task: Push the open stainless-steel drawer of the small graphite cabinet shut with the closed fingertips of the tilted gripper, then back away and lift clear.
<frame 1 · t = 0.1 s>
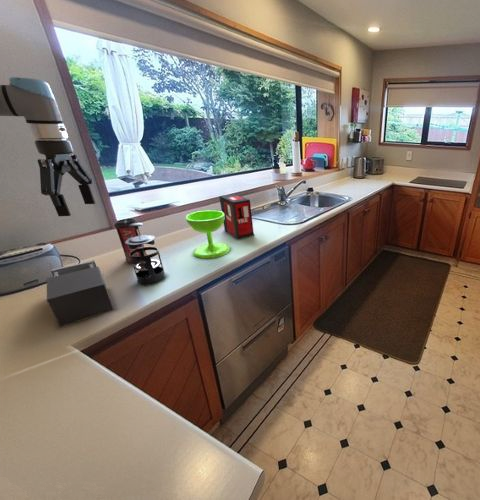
hand: (78, 209, 91), 30 cm above the counter, tool pointing down, fingers open, 13 cm apart
wineglass: (212, 251, 135), on the counter
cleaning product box: (239, 233, 158), on the counter
cabinet: (86, 306, 93), on the counter
french press: (151, 278, 111), on the counter
red canister: (137, 259, 125), on the counter
drawer: (78, 281, 98), point 5 cm above the counter, slide at 8.0 cm
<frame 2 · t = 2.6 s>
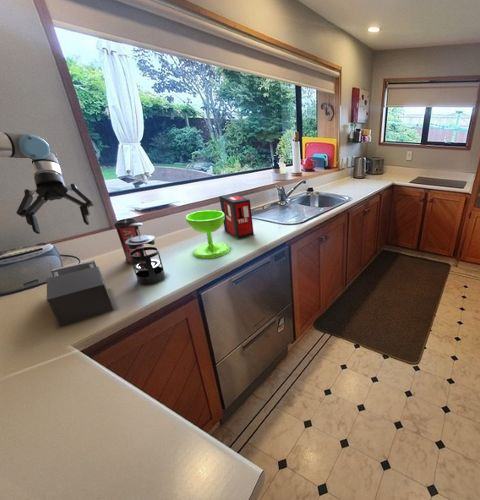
hand: (62, 227, 101), 20 cm above the counter, tool tilted 40°, fingers open, 13 cm apart
nothing on the counter moved.
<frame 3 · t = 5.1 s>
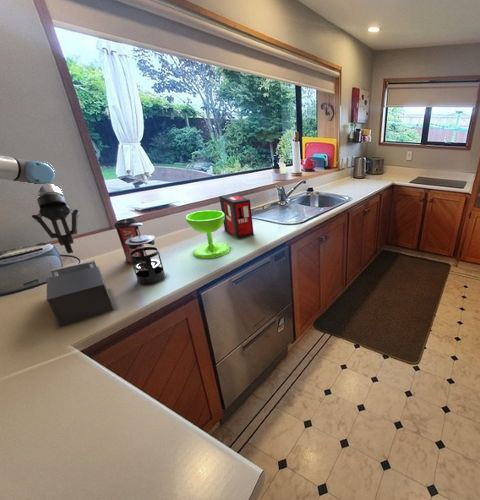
hand: (69, 251, 104), 11 cm above the counter, tool tilted 45°, fingers closed
nothing on the counter moved.
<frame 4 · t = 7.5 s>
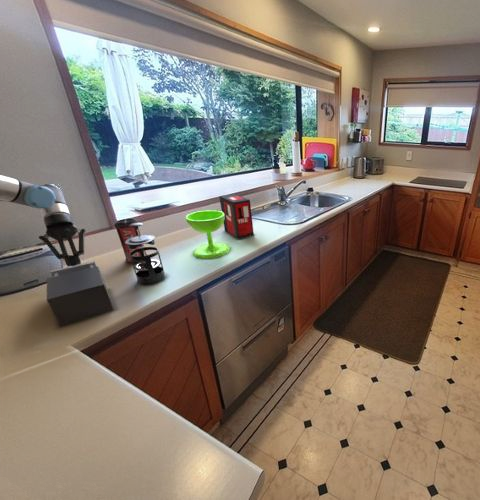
hand: (76, 272, 103), 5 cm above the counter, tool tilted 45°, fingers closed
drawer: (78, 282, 97), point 5 cm above the counter, slide at 6.8 cm, touching gripper
everything else where it was.
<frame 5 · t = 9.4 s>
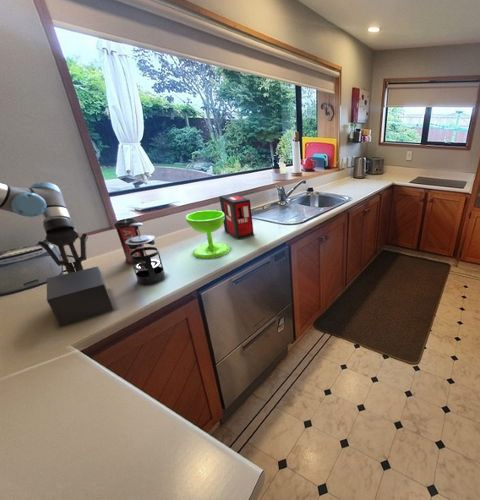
hand: (78, 279, 99), 5 cm above the counter, tool tilted 45°, fingers closed
drawer: (80, 291, 93), point 5 cm above the counter, slide at 0.0 cm, touching cabinet, gripper
everything else where it was.
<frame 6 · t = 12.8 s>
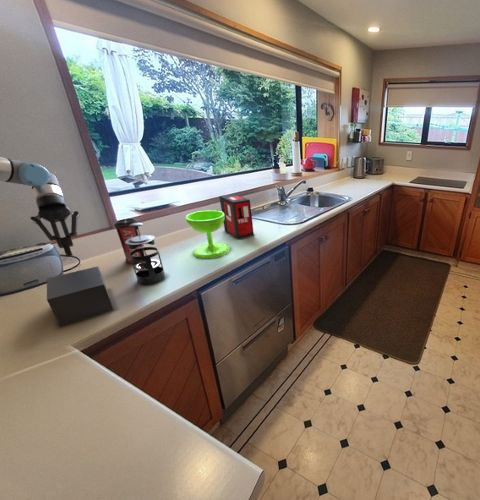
hand: (69, 254, 101), 12 cm above the counter, tool tilted 45°, fingers closed
drawer: (80, 291, 93), point 5 cm above the counter, slide at 0.0 cm, touching cabinet
everything else where it was.
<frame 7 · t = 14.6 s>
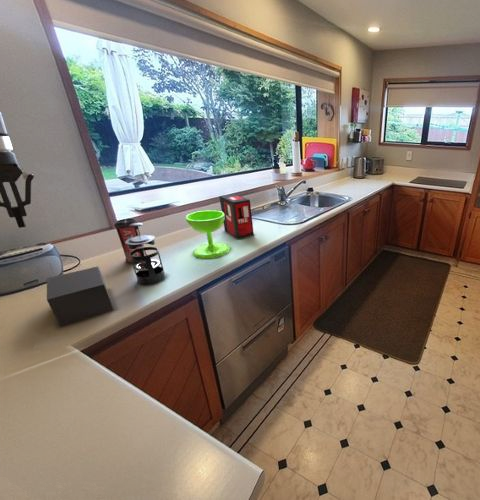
hand: (22, 226, 92), 24 cm above the counter, tool pointing down, fingers closed
nothing on the counter moved.
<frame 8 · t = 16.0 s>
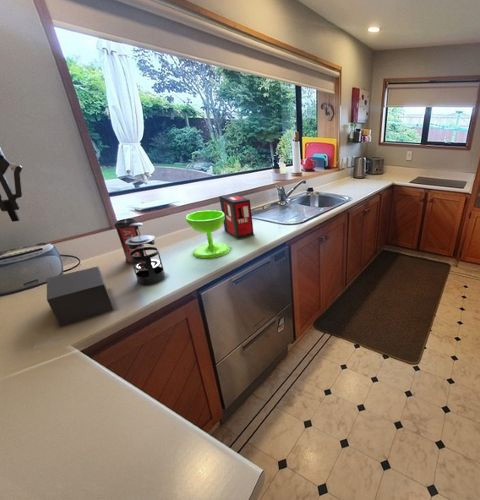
hand: (15, 220, 90), 26 cm above the counter, tool pointing down, fingers closed
nothing on the counter moved.
at the end: drawer slide at 0.0 cm; french press moved 0.2 cm from its start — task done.
